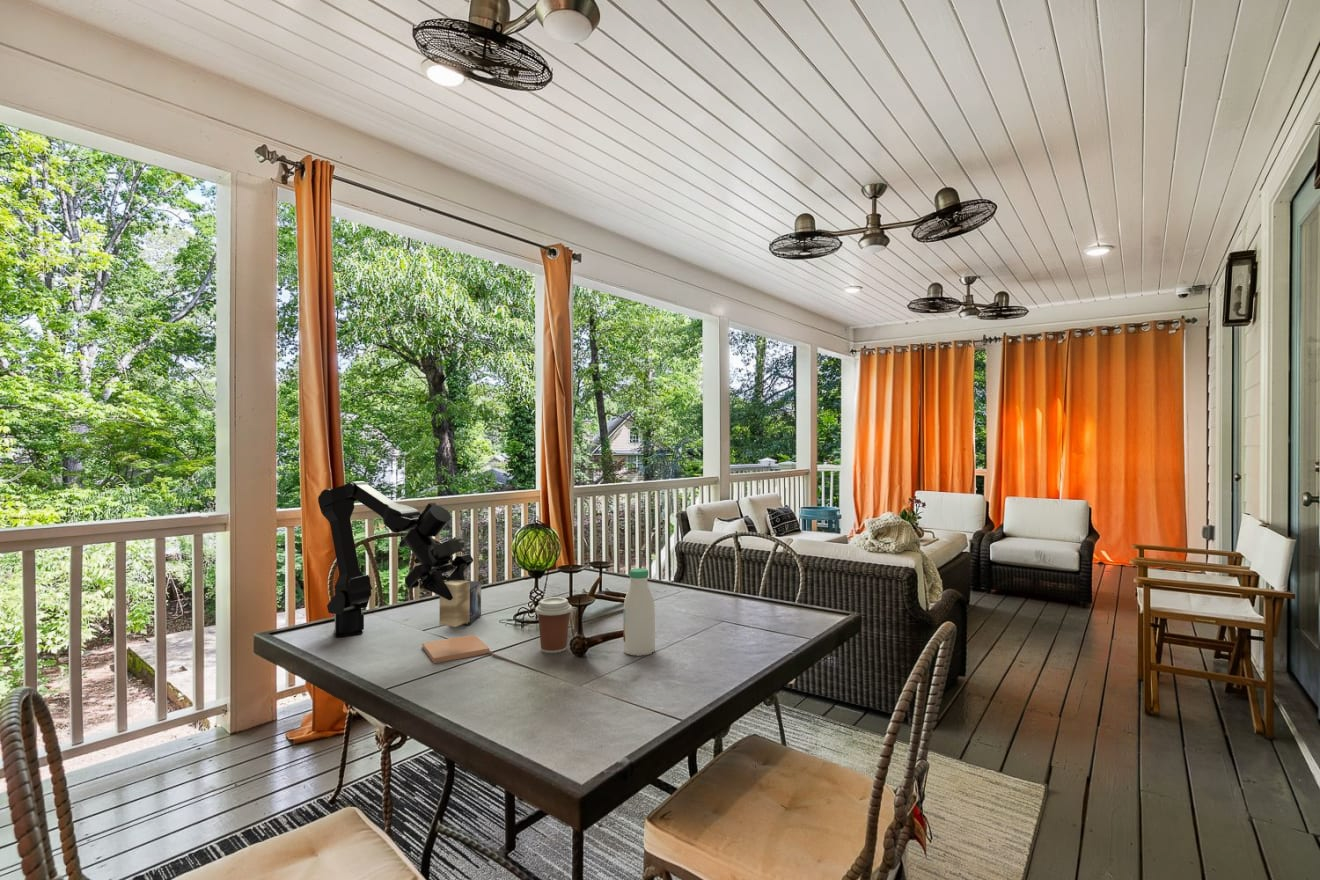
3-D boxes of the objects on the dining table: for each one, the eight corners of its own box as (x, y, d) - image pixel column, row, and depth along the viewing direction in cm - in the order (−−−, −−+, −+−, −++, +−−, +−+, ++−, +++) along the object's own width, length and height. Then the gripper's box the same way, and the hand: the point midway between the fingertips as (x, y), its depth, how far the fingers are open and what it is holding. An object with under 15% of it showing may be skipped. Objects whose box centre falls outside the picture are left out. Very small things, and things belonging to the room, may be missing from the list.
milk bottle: (661, 650, 152) (661, 569, 152) (639, 659, 146) (639, 574, 146) (639, 644, 157) (639, 565, 157) (616, 651, 151) (616, 569, 151)
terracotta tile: (433, 663, 143) (433, 658, 143) (422, 647, 154) (422, 642, 154) (489, 653, 150) (489, 648, 150) (474, 638, 161) (474, 634, 161)
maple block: (455, 626, 149) (455, 585, 149) (439, 624, 151) (439, 583, 151) (469, 621, 154) (469, 581, 154) (453, 619, 156) (454, 579, 156)
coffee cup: (528, 652, 151) (527, 603, 151) (547, 641, 159) (547, 594, 159) (561, 657, 148) (560, 606, 148) (578, 645, 156) (578, 597, 156)
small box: (470, 626, 173) (470, 588, 173) (447, 626, 173) (447, 588, 173) (482, 615, 184) (482, 580, 184) (460, 615, 184) (460, 580, 184)
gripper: (414, 532, 145) (450, 583, 141) (468, 523, 163) (502, 568, 158) (389, 563, 148) (424, 614, 144) (444, 550, 166) (477, 596, 161)
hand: (459, 596), depth 152 cm, fingers closed on maple block, 5 cm apart
